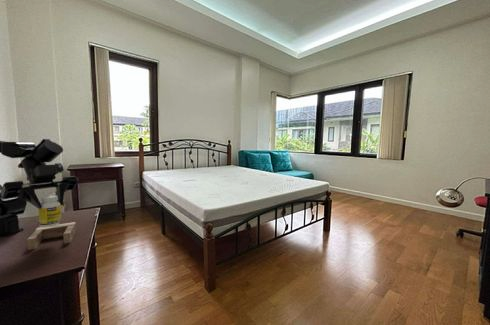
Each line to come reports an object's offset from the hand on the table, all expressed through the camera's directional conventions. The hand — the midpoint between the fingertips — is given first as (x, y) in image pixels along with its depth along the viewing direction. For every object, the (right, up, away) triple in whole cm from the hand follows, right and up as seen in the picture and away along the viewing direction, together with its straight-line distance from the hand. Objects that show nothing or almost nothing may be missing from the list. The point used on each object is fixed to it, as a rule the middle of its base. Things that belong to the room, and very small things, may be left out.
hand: (51, 205), depth 68 cm
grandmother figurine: (-17, -11, +20) cm, 28 cm away
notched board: (-2, -13, +3) cm, 13 cm away
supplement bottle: (-2, -7, +1) cm, 7 cm away
